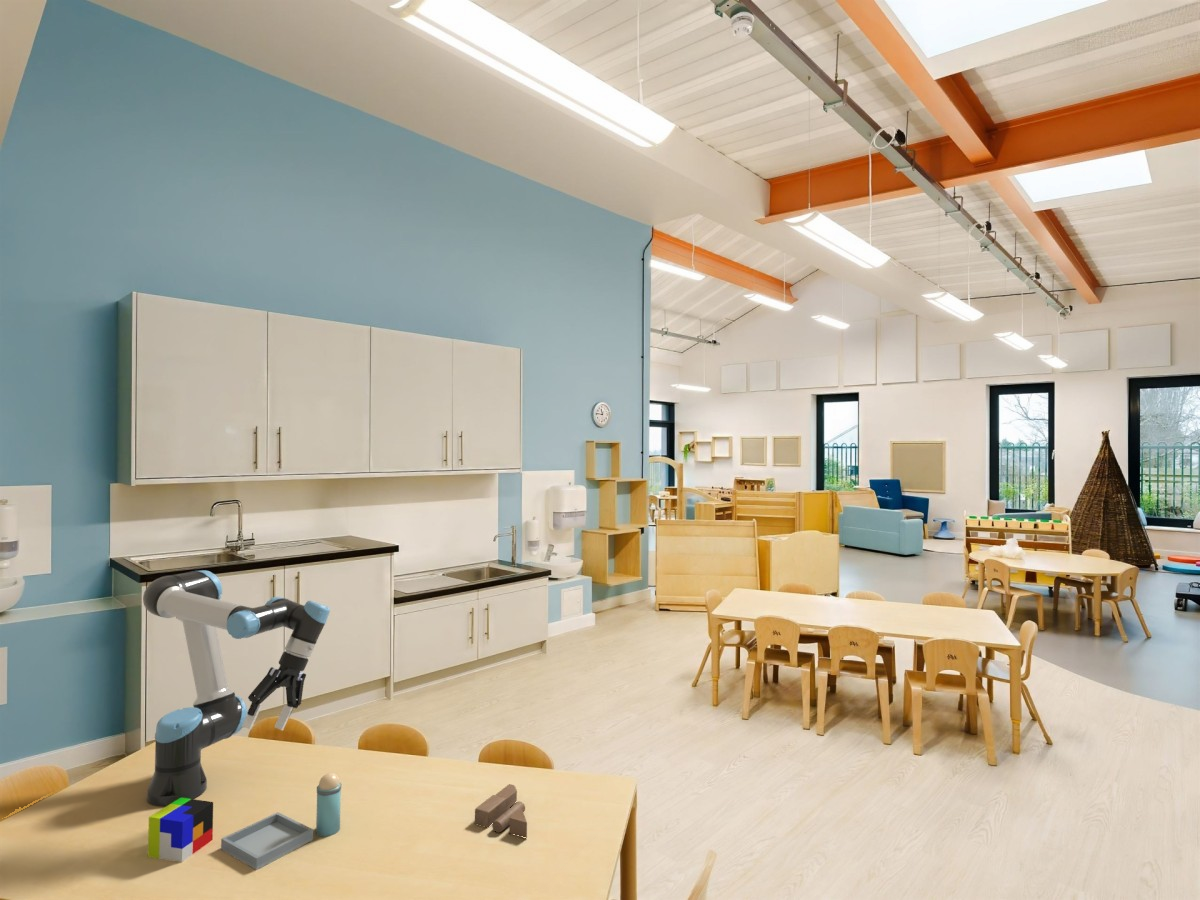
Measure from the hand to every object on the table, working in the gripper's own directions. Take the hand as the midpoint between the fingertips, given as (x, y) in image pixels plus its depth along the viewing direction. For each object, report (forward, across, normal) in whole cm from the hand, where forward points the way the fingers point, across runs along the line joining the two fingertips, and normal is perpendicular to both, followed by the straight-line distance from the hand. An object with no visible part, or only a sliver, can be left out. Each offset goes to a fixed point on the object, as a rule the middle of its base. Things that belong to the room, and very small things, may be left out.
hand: (262, 728), depth 194 cm
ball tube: (+17, +6, -29) cm, 34 cm away
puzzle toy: (+30, -11, 0) cm, 32 cm away
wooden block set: (0, +25, -72) cm, 77 cm away
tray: (+23, -4, -19) cm, 30 cm away
